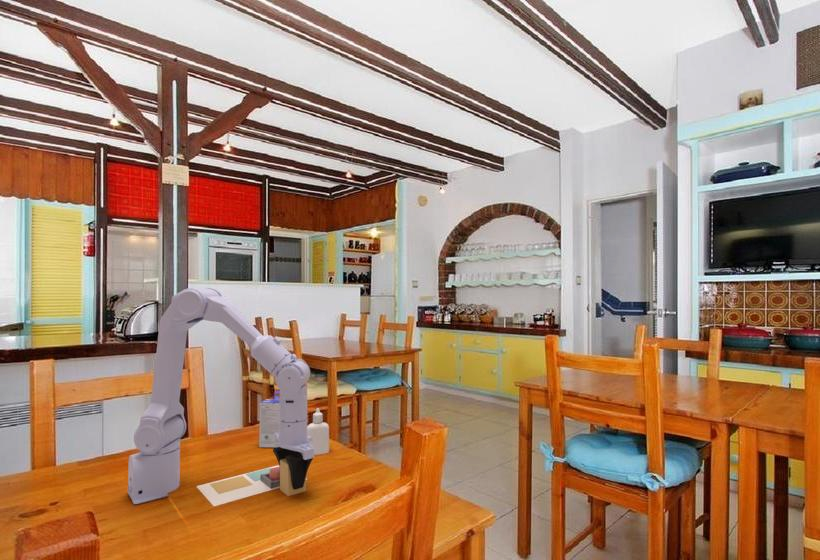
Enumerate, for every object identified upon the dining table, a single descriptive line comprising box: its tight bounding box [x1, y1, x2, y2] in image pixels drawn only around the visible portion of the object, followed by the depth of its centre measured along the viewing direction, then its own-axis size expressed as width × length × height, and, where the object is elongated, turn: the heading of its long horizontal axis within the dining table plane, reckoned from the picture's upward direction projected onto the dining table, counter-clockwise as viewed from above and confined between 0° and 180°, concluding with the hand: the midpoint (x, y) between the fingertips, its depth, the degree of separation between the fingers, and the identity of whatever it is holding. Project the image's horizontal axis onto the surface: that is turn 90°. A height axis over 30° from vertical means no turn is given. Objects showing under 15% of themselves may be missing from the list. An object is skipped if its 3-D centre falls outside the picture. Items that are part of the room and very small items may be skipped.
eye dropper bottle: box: [307, 407, 330, 456], centre depth 120 cm, size 4×6×12 cm
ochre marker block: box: [279, 459, 307, 497], centre depth 97 cm, size 4×4×7 cm
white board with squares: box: [196, 464, 308, 507], centre depth 101 cm, size 20×12×2 cm, turn 130°
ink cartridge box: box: [258, 390, 280, 448], centre depth 128 cm, size 10×6×14 cm, turn 89°
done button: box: [269, 467, 280, 481], centre depth 102 cm, size 4×4×2 cm
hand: (293, 484), depth 97 cm, fingers closed on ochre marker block, 4 cm apart
